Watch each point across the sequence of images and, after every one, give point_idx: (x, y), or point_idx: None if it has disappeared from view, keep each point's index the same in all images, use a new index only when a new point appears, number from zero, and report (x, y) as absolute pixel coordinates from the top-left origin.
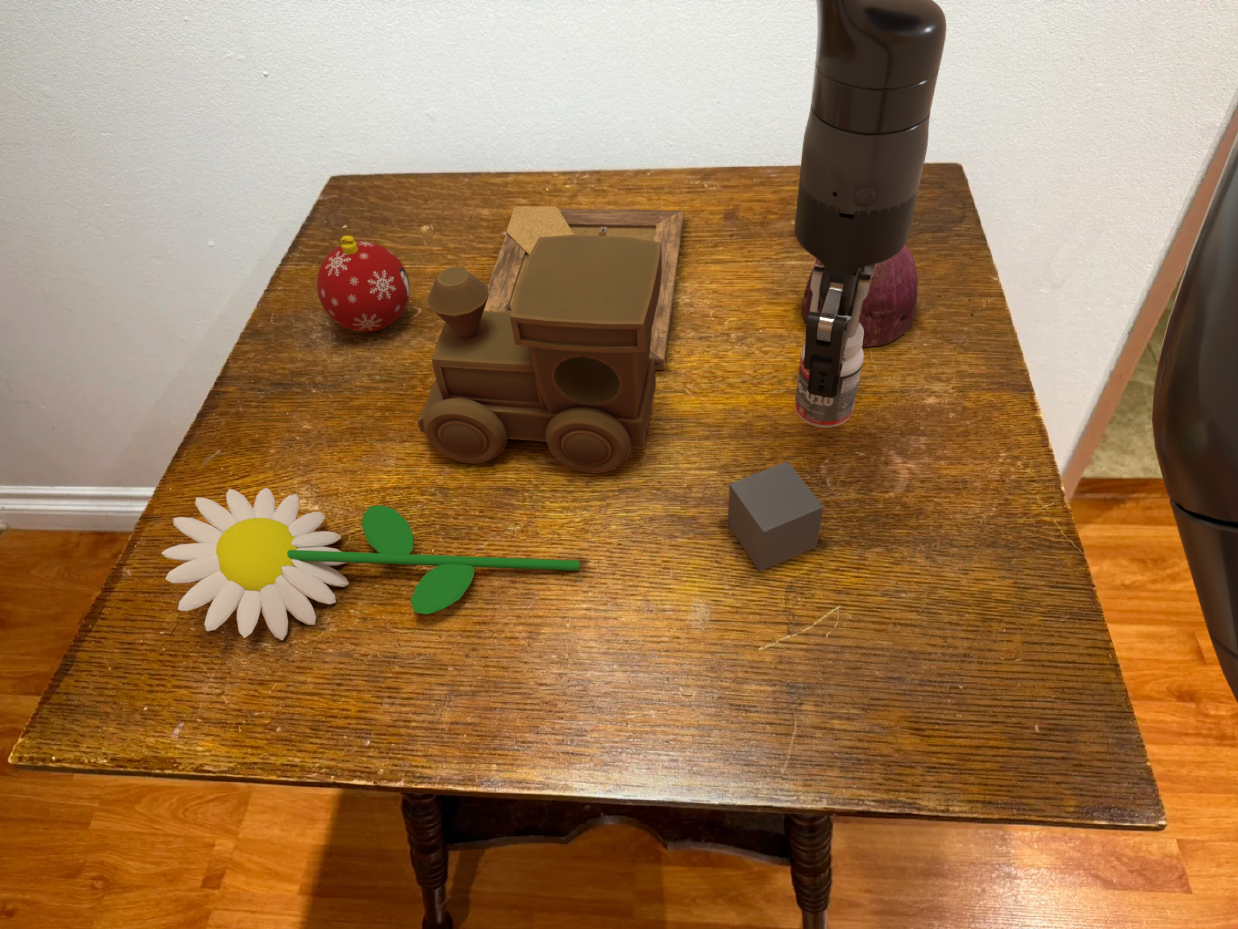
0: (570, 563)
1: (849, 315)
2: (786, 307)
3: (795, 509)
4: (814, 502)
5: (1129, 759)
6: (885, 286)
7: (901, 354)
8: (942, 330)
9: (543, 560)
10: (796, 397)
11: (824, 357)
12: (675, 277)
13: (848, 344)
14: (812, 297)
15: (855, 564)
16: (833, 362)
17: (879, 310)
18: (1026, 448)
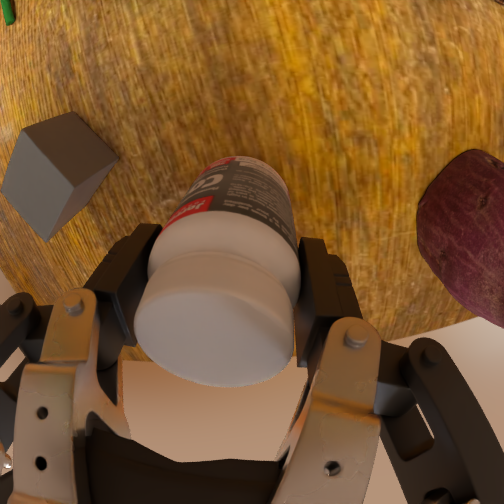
0: (5, 18)
1: (303, 357)
2: (483, 130)
3: (29, 215)
4: (44, 233)
5: None
6: (467, 295)
7: (402, 264)
8: (428, 295)
9: (3, 2)
10: (214, 167)
11: (26, 355)
12: (501, 1)
13: (164, 366)
14: (13, 472)
15: (88, 240)
16: (12, 374)
17: (445, 269)
18: None
